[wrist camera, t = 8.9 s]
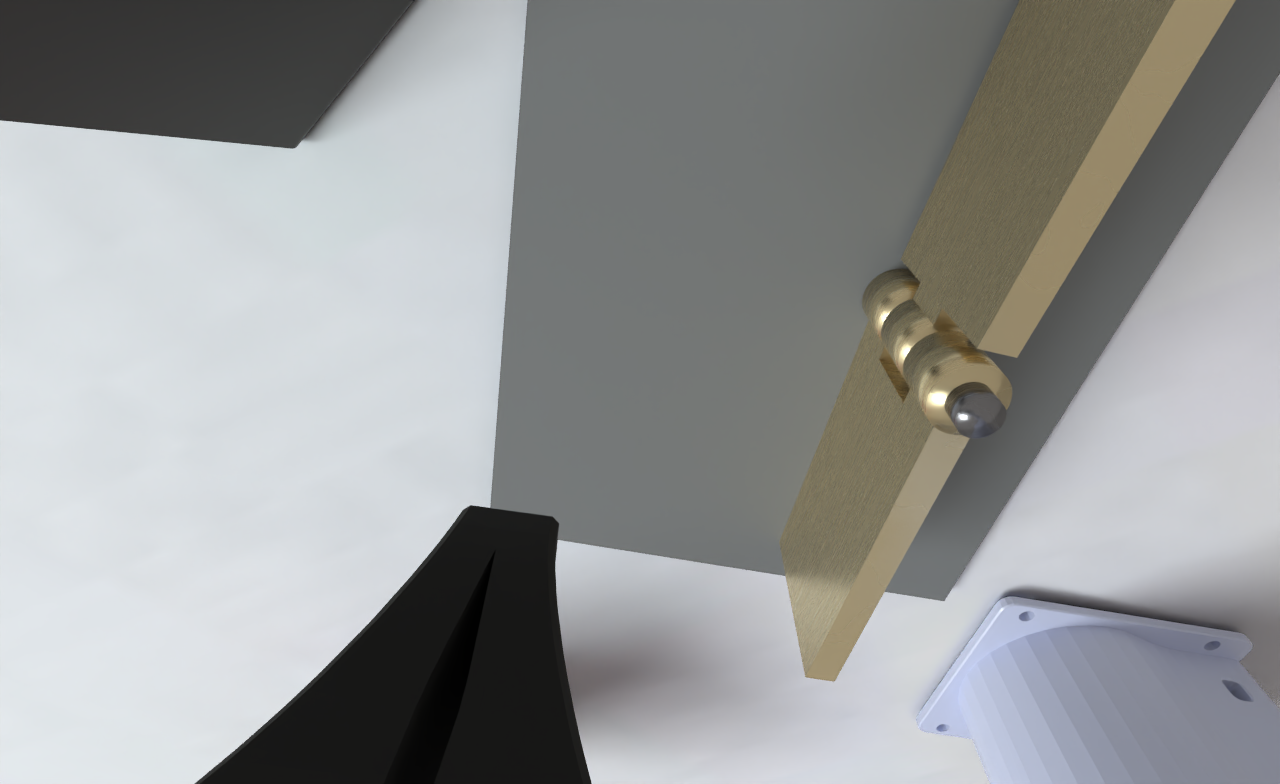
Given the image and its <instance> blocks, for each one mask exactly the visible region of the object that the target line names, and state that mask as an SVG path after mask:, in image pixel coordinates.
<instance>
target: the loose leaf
mask: <svg viewBox="0 0 1280 784" xmlns="http://www.w3.org/2000/svg"><path fill="white" fill-rule="evenodd" d="M1235 1H1236V0H1019V3H1018V5H1017V7H1016V9H1015V11H1014V14H1013V16H1012V18H1011V20H1010V22H1009V24H1008V27H1007V29H1006V31H1005V33H1004V35H1003V38H1002V40H1001V42H1000V44H999V46H998V48H997V51H996V53H995V55H994V57H993V59H992V61H991V64H990V66H989V68H988V70H987V72H986V75H985V77H984V79H983V81H982V83H981V85H980V88H979V90H978V92H977V94H976V96H975V99H974V101H973V103H972V105H971V107H970V109H969V112H968V114H967V116H966V118H965V120H964V123H963V125H962V127H961V129H960V131H959V133H958V136H957V138H956V140H955V142H954V144H953V146H952V149H951V151H950V153H949V155H948V157H947V160H946V162H945V164H944V166H943V168H942V170H941V173H940V175H939V177H938V179H937V181H936V184H935V186H934V188H933V190H932V192H931V194H930V197H929V199H928V201H927V203H926V205H925V208H924V210H923V212H922V214H921V216H920V218H919V221H918V223H917V225H916V227H915V229H914V231H913V234H912V236H911V238H910V240H909V242H908V245H907V247H906V249H905V251H904V253H903V255H902V258H901V260H902V261H903V263H904V264H905V265H906V266H907V267H908V268H909V270H910V271H911V272H912V273H913V274H914V275H915V277H916V278H917V279H918V280H919V281H920V282H921V283H920V285H919V287H918V289H917V291H916V293H915V295H914V297H913V299H910V300H907V301H905V302H903V303H901V304H899V305H898V306H896V307H895V308H894V309H893V310H892V311H891V312H890V313H889V314H888V316H887V317H886V319H885V320H884V322H883V325H882V329H881V339H882V342H883V345H884V346H885V348H886V350H887V351H888V353H889V355H890V356H891V358H892V360H893V361H894V363H895V365H896V366H897V368H898V370H899V371H900V373H901V375H902V376H903V363H904V360H905V357H906V355H907V354H908V352H909V351H910V349H911V348H912V347H913V346H914V345H915V344H916V343H917V342H918V341H920V340H921V339H923V338H924V337H926V336H928V335H930V334H933V333H936V332H940V331H946V330H954V331H960V332H963V333H964V334H965V335H966V336H967V338H968V339H969V340H970V341H971V342H972V343H973V345H974V346H975V347H976V348H977V349H981V350H985V351H989V352H994V353H998V354H1003V355H1007V356H1011V357H1016V358H1017V357H1018V355H1019V354H1020V352H1021V351H1022V349H1023V347H1024V346H1025V344H1026V342H1027V341H1028V339H1029V338H1030V336H1031V334H1032V333H1033V331H1034V329H1035V328H1036V326H1037V324H1038V323H1039V321H1040V320H1041V318H1042V316H1043V315H1044V313H1045V311H1046V310H1047V308H1048V306H1049V305H1050V303H1051V302H1052V300H1053V298H1054V297H1055V295H1056V293H1057V292H1058V290H1059V288H1060V287H1061V285H1062V284H1063V282H1064V280H1065V279H1066V277H1067V275H1068V274H1069V272H1070V270H1071V269H1072V267H1073V266H1074V264H1075V262H1076V261H1077V259H1078V257H1079V256H1080V254H1081V252H1082V251H1083V249H1084V248H1085V246H1086V244H1087V243H1088V241H1089V239H1090V238H1091V236H1092V234H1093V233H1094V231H1095V230H1096V228H1097V226H1098V225H1099V223H1100V221H1101V220H1102V218H1103V216H1104V215H1105V213H1106V212H1107V210H1108V208H1109V207H1110V205H1111V203H1112V202H1113V200H1114V198H1115V197H1116V195H1117V194H1118V192H1119V190H1120V189H1121V187H1122V185H1123V184H1124V182H1125V181H1126V179H1127V177H1128V176H1129V174H1130V172H1131V171H1132V169H1133V167H1134V166H1135V164H1136V163H1137V161H1138V159H1139V158H1140V156H1141V154H1142V153H1143V151H1144V149H1145V148H1146V146H1147V145H1148V143H1149V141H1150V140H1151V138H1152V136H1153V135H1154V133H1155V131H1156V130H1157V128H1158V127H1159V125H1160V123H1161V122H1162V120H1163V118H1164V117H1165V115H1166V113H1167V112H1168V110H1169V109H1170V107H1171V105H1172V104H1173V102H1174V100H1175V99H1176V97H1177V95H1178V94H1179V92H1180V91H1181V89H1182V87H1183V86H1184V84H1185V82H1186V81H1187V79H1188V77H1189V76H1190V74H1191V73H1192V71H1193V69H1194V68H1195V66H1196V64H1197V63H1198V61H1199V59H1200V58H1201V56H1202V55H1203V53H1204V51H1205V50H1206V48H1207V46H1208V45H1209V43H1210V41H1211V40H1212V38H1213V37H1214V35H1215V33H1216V32H1217V30H1218V28H1219V27H1220V25H1221V24H1222V22H1223V20H1224V19H1225V17H1226V15H1227V14H1228V12H1229V10H1230V9H1231V7H1232V6H1233V4H1234V2H1235ZM903 378H904V376H903Z"/></svg>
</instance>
